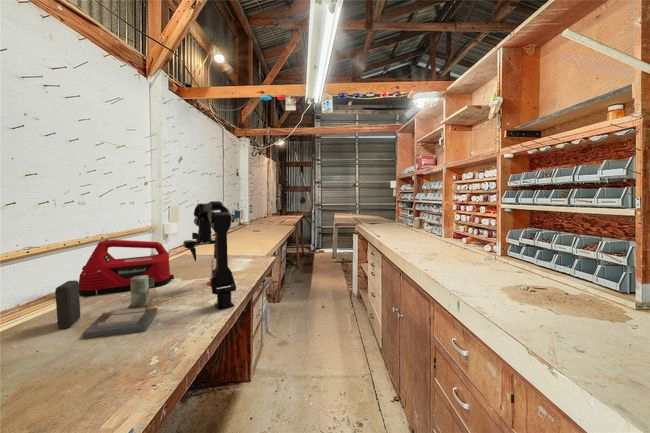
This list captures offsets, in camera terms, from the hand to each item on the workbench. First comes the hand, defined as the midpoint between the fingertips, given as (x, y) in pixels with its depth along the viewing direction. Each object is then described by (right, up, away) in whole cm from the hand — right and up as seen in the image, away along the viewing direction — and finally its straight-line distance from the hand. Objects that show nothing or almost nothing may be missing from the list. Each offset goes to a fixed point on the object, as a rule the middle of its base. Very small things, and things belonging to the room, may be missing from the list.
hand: (205, 259), depth 143 cm
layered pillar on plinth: (-16, -16, -24) cm, 33 cm away
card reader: (-33, -18, -39) cm, 54 cm away
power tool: (-39, -15, +2) cm, 42 cm away
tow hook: (+3, -14, +8) cm, 17 cm away
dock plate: (-13, -18, -39) cm, 45 cm away
